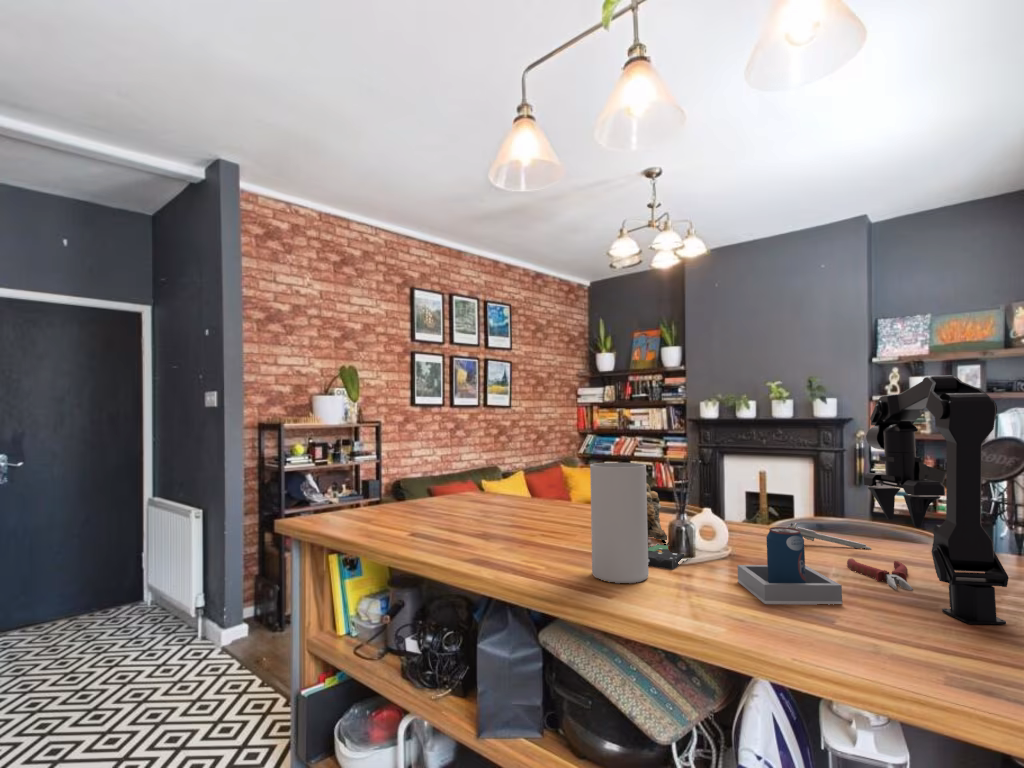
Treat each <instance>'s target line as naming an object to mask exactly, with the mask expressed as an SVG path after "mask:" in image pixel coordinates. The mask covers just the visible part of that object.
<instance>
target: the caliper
mask: <svg viewBox="0 0 1024 768" xmlns="http://www.w3.org/2000/svg"><path fill="white" fill-rule="evenodd" d="M797 524H798V523H797V522H795V523H794V524H793V522H790V525H787V528H794V529H798V530H800V533H801V535H802V537H803V539H804V540H805V539H806V540H807V541H808V540H809V541H812V542H814V541H815V540H820V541H825V542H829V543H833V544H838V545H842V546H846V547H851V548H855V549H858V548H865V549H864V550H867V549H868V550H872V548H871V547H870V546H867V544H866V543H862V542H857V541H854V540H850V539H845V538H840V537H835V536H832V535H827V534H823V533H818V532H816V531H815V530H812V529H808V528H804V527H799V526H798V527H797Z"/></svg>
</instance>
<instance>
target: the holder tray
mask: <svg viewBox="0 0 1024 768" xmlns="http://www.w3.org/2000/svg"><path fill="white" fill-rule="evenodd" d="M805 574H806V583H769V582H768V568H767V564H737V582H738V583H739V584H740V585H741V586H742V587H743V588H745V589H746V590H747V591H748V592H749V593H751V594H752V595H754V597H756V598H757V599H758V600H759V601H760V602H762V604H765V605H817V604H828V605H829V606H830V604H833V605H834V604H842V605H843V590H842V589H843V588H842V587H843V586H842V584H840V583H838V582H836V581H835V580H833V579H832V578H829V577H827V576H825V575H824V574H822V573H821V572H818V571H816V570H815V569H813V568H811V567H809V566H808V565H806V564H805ZM833 605H832V606H833Z"/></svg>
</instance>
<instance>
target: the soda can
mask: <svg viewBox="0 0 1024 768" xmlns="http://www.w3.org/2000/svg"><path fill="white" fill-rule="evenodd" d="M805 554H806V553H805V538H804V537H802V535H801V533H800V530H798V529H794V528H788V526H786V527H784V526H774V527H769V531H768V533H767V535H766V560H767V562H766V563H767V564H766V565H767V568H768V582H769V583H806V574H805V565H806V557H805V556H806V555H805Z"/></svg>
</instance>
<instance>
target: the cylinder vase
mask: <svg viewBox="0 0 1024 768" xmlns="http://www.w3.org/2000/svg"><path fill="white" fill-rule="evenodd" d="M589 466H590V468H589V470H590V474H589V475H590V520H591V522H590V523H591V524H590V525H591V526H590V527H591V530H590V531H591V534H590V536H591V574H592V576H594V578H595V579H597V578H599V579H601V580H600V581H602V580H605V581H609V582H608V583H610V582H615V583H614V584H620V583H629V584H637V583H640V582H643V581H646V580H647V579H648V578H649V573H650V572H649V566H648V529H647V486H646V483H647V465H646V464H644V463H638V462H637V463H635V462H598V463H590V465H589ZM599 579H598V580H599ZM605 581H604V582H605ZM636 582H637V583H636Z"/></svg>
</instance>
